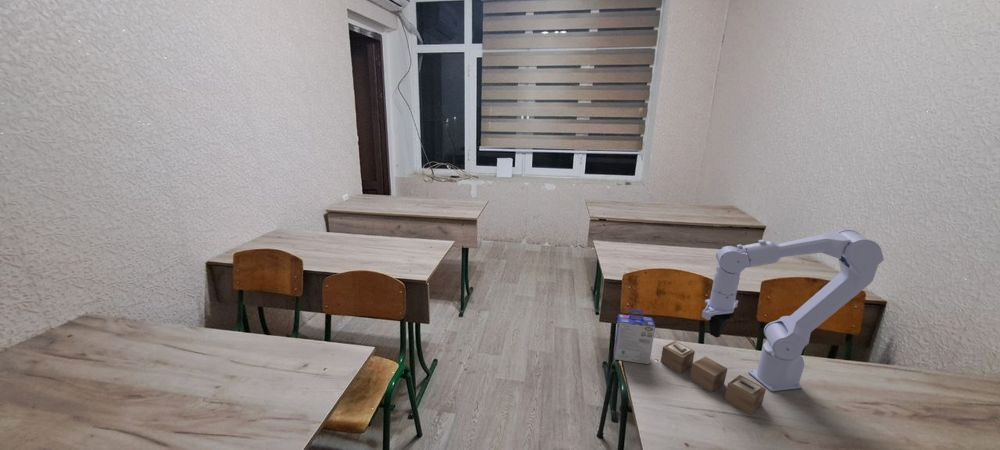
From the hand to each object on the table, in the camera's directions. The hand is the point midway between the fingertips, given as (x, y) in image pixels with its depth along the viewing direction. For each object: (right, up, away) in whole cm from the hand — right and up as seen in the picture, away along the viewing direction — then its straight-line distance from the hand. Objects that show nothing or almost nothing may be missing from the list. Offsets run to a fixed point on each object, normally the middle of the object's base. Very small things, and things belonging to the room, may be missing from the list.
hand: (714, 335), depth 106 cm
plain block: (-4, -11, -4) cm, 13 cm away
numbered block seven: (-9, -9, +3) cm, 13 cm away
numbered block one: (+1, -14, -11) cm, 18 cm away
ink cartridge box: (-21, -8, +6) cm, 24 cm away
